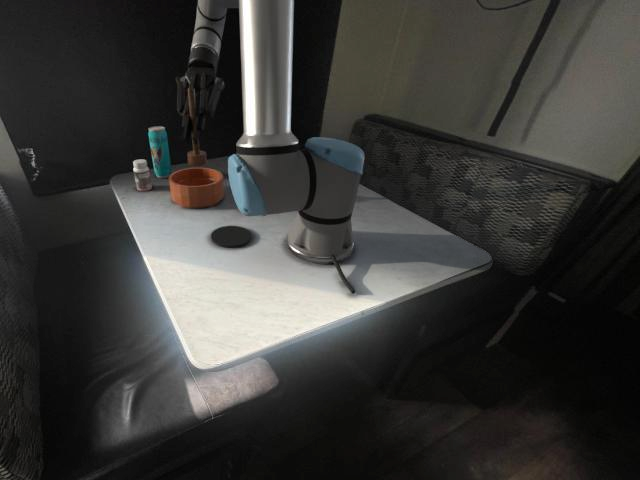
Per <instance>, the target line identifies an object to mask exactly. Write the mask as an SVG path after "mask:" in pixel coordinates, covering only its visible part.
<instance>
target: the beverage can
mask: <svg viewBox="0 0 640 480" xmlns="http://www.w3.org/2000/svg"><path fill="white" fill-rule="evenodd" d="M148 142H149V146H150V147H149V148H150V154H151V159H152V164H153V171H154V174H155V175H156V177H157V178H159V179H167V178H169V176H170V175H171V174H172V164H171V163H172V162H171V157H170V150H169V141H168V134H167V131H166V127H164V126H161V125H159V126H150V127H148Z"/></svg>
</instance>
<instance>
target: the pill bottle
mask: <svg viewBox="0 0 640 480" xmlns="http://www.w3.org/2000/svg"><path fill="white" fill-rule="evenodd" d="M132 165H133V168H132V170H133V176H134V181H135V187H136V189H137V190H138V191H149V190H151V189H152V188H153V184H152V179H151V173H150V168H149V166H148V161H147V160H146V159H144V158H143V159H141V158H140V159H139V158H138V159H135V160H133V161H132Z"/></svg>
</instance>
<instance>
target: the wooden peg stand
mask: <svg viewBox="0 0 640 480" xmlns="http://www.w3.org/2000/svg"><path fill="white" fill-rule="evenodd" d="M187 96H188V99H189V110H190V121H191V137H192V136H193V130H194V124H195V118H196V114H198V112H197V111H198V110H197V99H196V98H197V96H196V97H195V88H189V87H188V88H187ZM191 142H192V150H190V151H188V152H187V153H186V154H187V156H186V157H187V164H188V166H191V167H204V166H205V165H207V164H208V163H207V161H208V160H207V152H206V151H204V150H200V140H199V141H198V144H195V143H194V141H193V139H192V138H191Z"/></svg>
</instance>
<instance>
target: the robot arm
mask: <svg viewBox="0 0 640 480" xmlns="http://www.w3.org/2000/svg"><path fill="white" fill-rule="evenodd" d="M228 9H238V13H239V15H238V16H239V40H240V44H239V45H240V62H241V63H240V64H241V65H240V67H241V69H240V70H241V95H242V96H241V97H242V120H243V133H242V134H241V137H240V138H239V139H238V140H237V142H236V144H235V146H236V149H235V150H236V153H232V155H230V156H228V158H227V174H228V180H229V186H230V189H231V193H232V197H233V199H234V202H235V205H236V206H237V208H238V210H239V212H241V214H242V215H244V216H246V217H260V216H261V217H266V216H270V215H278V214H286V213H293V212H297V214H296V216H295V219H294V220H293V223H292V225H291V226H290V229H289V231H288V233H287V236H286V248H287V250H288V251H289V252H290V253H291V254H292V255H293V256H294V257H296V258H298V259H300V260H302V261H304V262H305V261H306V262H309V263H312V264H321V265H327V264H333V265H334V267H335V269H336V271H337V273H338V275H339V277H340V280H341V281H342V282H343V284H344V286H345V287H346V288H347V289H348V291H349V292H350V293H351V294H352V295H354V294H356V289H355V288H354V287H353V286H352V284H351V283H350V281H348V279H347V277H346V276H345V274H344V271H343V270H342V267H341V266H340V264H339V263H340V262H343V261H345V260H346V259H348V258H349V257H350V256H351V255H352V252H353V248H354V235H353V228H352V227H353V226H352V216H353V211H354V208H355V205H356V204H355V203H356V199H357V196H358V190H359V186H360V182H361V177H362V175H363V174H364V164H365V163H364V162H365V158H366V157H365V152H364V151H363V149H362V148H360V147H359V146H358V145H355V144H353V143H351V142H348V141H346V140H345V141H344V140H341V139H337V138H332V137H322V136H321V137H319V136H316V137H315V136H314V137H311V138H308V139H307V140H306V142H305V144H304V147H305V148H303V149H302V148H301V149H299V139H298V138H297V136H296V135H295V134H293V132H292V130H291V129H292V128H291V127H292V125H291V124H292V97H293V95H292V94H293V93H292V90H293V54H294V17H295V15H294V13H295V0H197V4H196V15H195V16H196V17H195V24H194V30H193V36H192V42H191V47H190V54H189V58H188V65H187V70H186V72H185V75H184V76H182V77H180V76H176V77H175V81H176V84H177V92H176V93H177V95H176V96H177V97H176V98H177V100H176V102H177V103H176V110H177V112H178V114H179V116H180V118H182V122H181V127H182V129H183V135H182V139H183V141H184V142H185V144H188V145H189V144H190V139H191V140H192V139H193V141H194V143H195V144H198V141H199V142H200V134H201V132H204V129H205V124H206V120H207V119H213V117H214V115H215V112H216V109H217V105H218V103H219V99H220V96H221V93H222V92H223V90H224V89H225V88H226V85H225V82H224V79H223V77H218V76H217V73H218V67H219V66H218V65H219V60H220V54H221V48H222V39H223V34H224V29H225V24H226V19H227V13H228ZM187 84H188V88H195V97H196V98H197V97H198V93H200V99H199V110H198V113H197V114H196V118H195V124H194V130H193V136H192V133H191V121H190V110H189V99H188V95H187V96H186V86H187ZM212 87H213V89H212ZM210 89H212V91H211V95H210V97H209V94H210V93H209V92H210ZM208 97H209V101H208Z"/></svg>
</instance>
